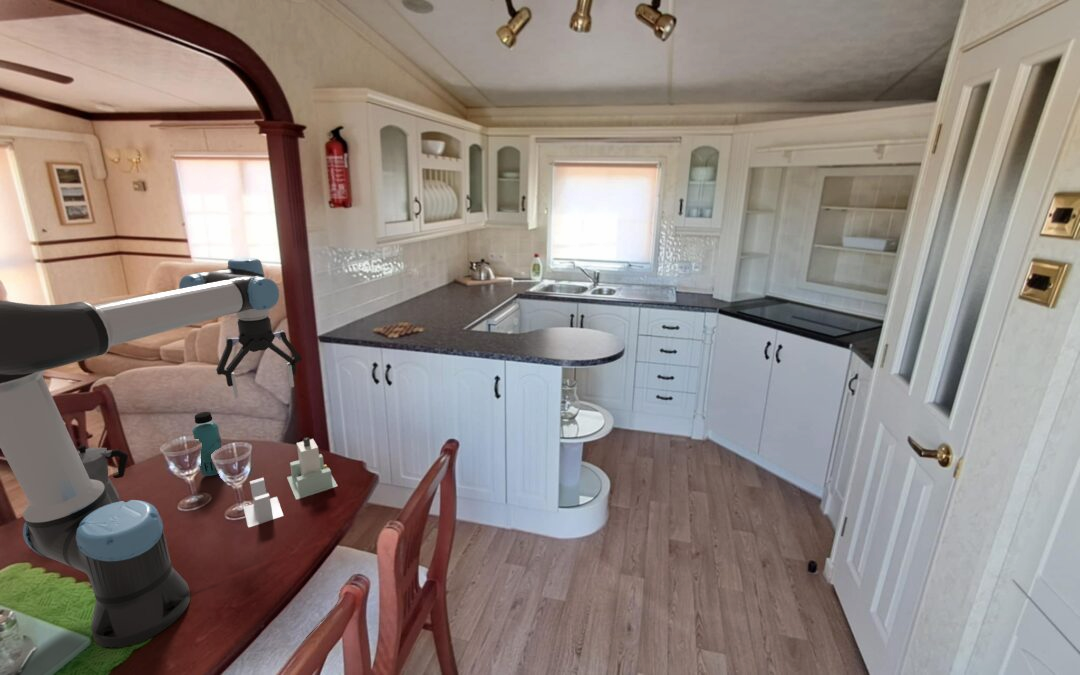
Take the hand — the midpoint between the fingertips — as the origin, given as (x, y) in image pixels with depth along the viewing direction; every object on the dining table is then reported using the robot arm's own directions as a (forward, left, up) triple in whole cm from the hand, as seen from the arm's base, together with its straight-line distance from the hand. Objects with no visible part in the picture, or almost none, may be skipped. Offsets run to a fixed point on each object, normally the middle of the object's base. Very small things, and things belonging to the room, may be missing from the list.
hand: (265, 390), depth 131 cm
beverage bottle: (+14, +15, -29) cm, 35 cm away
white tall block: (-8, -7, -28) cm, 30 cm away
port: (-8, -7, -29) cm, 31 cm away
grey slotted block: (-15, +6, -29) cm, 33 cm away
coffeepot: (+14, +40, -29) cm, 51 cm away
